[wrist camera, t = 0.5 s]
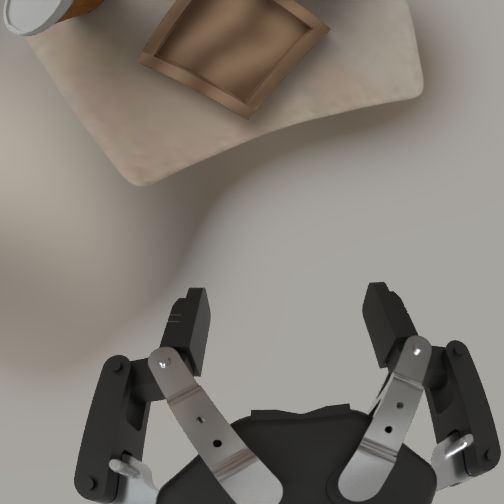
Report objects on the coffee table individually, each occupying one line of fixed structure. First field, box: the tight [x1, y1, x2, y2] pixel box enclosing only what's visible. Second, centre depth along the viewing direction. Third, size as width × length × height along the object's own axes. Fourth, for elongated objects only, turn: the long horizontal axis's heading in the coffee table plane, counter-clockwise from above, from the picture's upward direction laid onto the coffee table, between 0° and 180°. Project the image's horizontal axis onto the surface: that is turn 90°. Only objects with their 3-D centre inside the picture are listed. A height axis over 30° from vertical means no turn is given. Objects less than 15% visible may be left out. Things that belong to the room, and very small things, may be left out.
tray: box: [137, 0, 331, 120], centre depth 23 cm, size 16×16×3 cm
